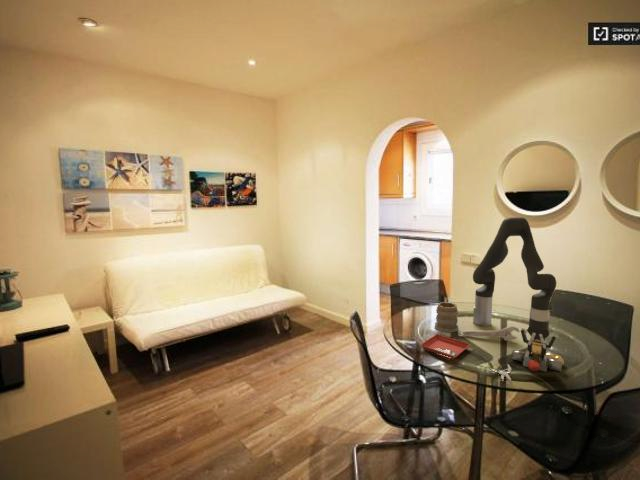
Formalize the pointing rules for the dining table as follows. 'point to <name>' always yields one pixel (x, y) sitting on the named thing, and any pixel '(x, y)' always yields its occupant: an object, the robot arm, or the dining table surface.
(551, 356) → the brass elbow
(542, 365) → the valve body
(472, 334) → the wrench
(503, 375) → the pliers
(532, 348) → the brass knob
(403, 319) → the dining table surface
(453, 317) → the tankard
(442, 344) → the plant saucer
